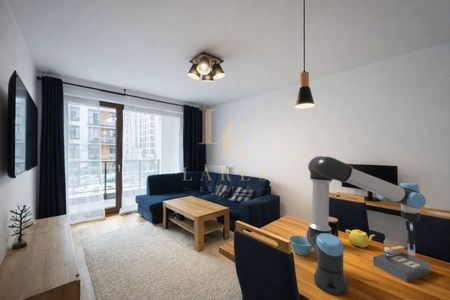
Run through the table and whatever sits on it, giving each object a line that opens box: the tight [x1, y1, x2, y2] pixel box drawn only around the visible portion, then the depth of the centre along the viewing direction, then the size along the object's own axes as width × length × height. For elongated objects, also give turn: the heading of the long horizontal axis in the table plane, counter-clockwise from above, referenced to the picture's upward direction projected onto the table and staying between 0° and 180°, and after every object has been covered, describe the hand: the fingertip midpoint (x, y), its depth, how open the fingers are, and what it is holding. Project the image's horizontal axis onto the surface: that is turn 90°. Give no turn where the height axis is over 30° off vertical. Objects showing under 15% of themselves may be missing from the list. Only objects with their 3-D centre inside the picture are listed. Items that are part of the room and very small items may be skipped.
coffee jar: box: [328, 216, 339, 238], centre depth 142 cm, size 11×11×18 cm
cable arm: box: [383, 243, 408, 254], centre depth 117 cm, size 4×17×2 cm, turn 106°
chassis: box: [372, 251, 432, 283], centre depth 110 cm, size 22×16×6 cm
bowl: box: [288, 235, 313, 257], centre depth 130 cm, size 16×16×8 cm
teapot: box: [345, 229, 376, 249], centre depth 138 cm, size 18×11×11 cm, turn 38°
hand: (411, 254), depth 105 cm, fingers closed
